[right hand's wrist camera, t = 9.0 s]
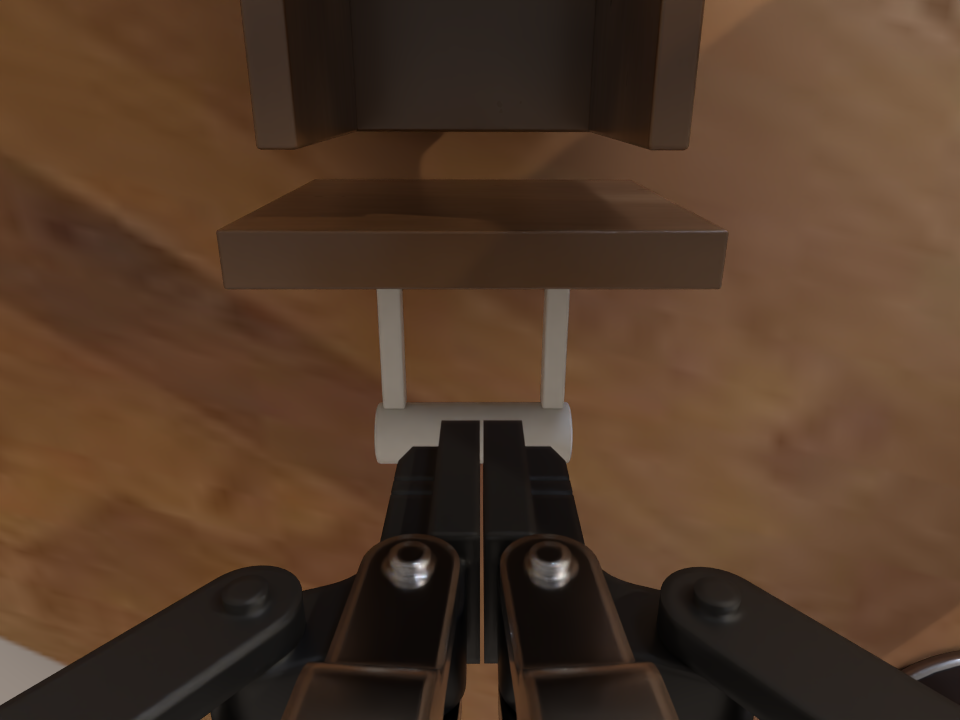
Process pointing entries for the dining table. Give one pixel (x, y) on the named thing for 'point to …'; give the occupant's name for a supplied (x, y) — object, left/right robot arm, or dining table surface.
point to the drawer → (472, 203)
